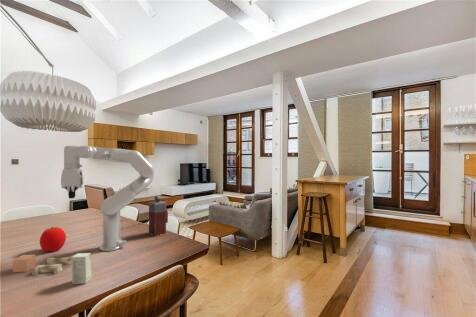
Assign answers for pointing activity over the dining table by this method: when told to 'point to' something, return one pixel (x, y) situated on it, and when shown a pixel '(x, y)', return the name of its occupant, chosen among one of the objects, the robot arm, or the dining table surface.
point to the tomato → (52, 239)
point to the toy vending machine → (157, 217)
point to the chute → (52, 265)
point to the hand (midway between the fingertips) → (71, 198)
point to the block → (23, 263)
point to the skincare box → (81, 268)
